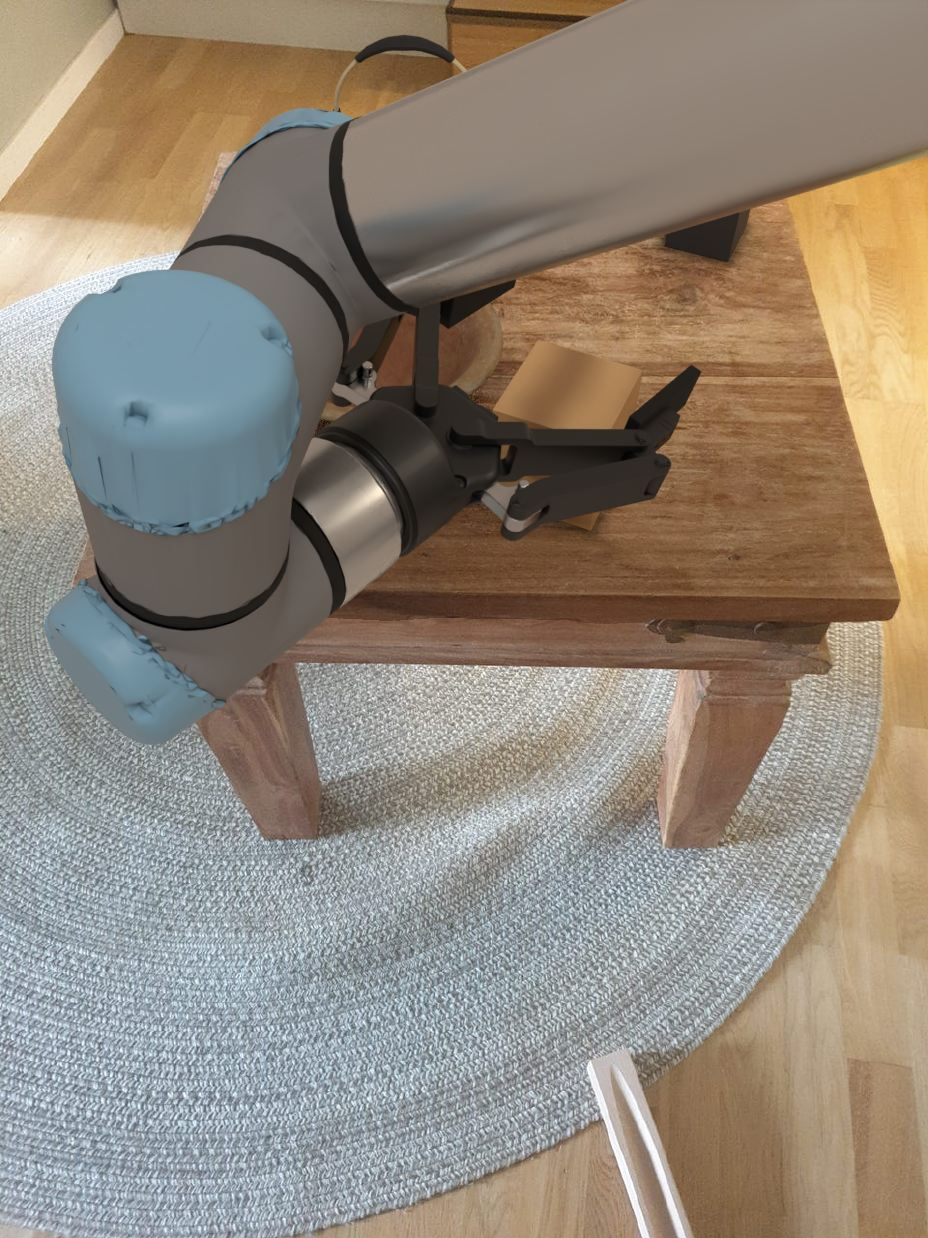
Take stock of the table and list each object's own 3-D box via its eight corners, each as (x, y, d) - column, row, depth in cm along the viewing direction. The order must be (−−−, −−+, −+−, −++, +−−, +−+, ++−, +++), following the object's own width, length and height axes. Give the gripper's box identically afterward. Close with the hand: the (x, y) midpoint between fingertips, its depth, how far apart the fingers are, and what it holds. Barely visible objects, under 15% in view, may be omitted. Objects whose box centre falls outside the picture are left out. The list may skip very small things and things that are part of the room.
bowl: (526, 463, 81) (530, 393, 75) (255, 504, 79) (234, 436, 72) (475, 298, 94) (474, 226, 88) (242, 330, 92) (223, 258, 86)
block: (746, 226, 100) (762, 163, 95) (728, 261, 97) (743, 198, 91) (684, 211, 102) (696, 148, 96) (664, 245, 99) (675, 183, 93)
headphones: (483, 260, 98) (482, 59, 81) (345, 258, 99) (316, 59, 82) (486, 214, 103) (486, 15, 86) (354, 212, 103) (329, 15, 87)
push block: (627, 459, 81) (643, 369, 73) (590, 531, 77) (602, 443, 68) (532, 429, 83) (537, 339, 75) (491, 497, 79) (492, 409, 71)
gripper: (192, 413, 52) (439, 269, 63) (528, 695, 46) (740, 482, 57) (180, 305, 46) (457, 165, 57) (567, 613, 40) (797, 391, 50)
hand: (599, 323), depth 57 cm, fingers open, 13 cm apart
